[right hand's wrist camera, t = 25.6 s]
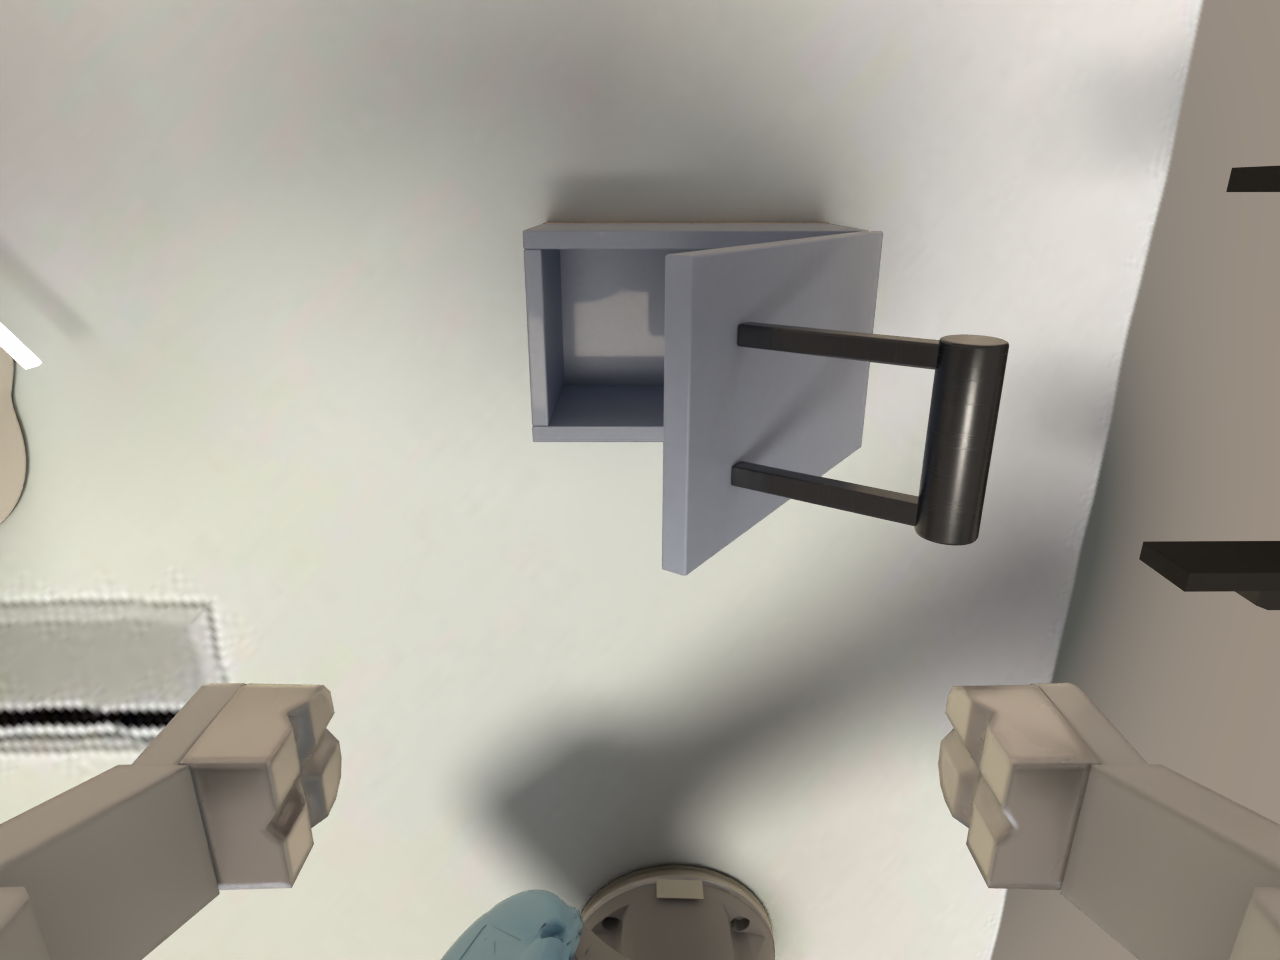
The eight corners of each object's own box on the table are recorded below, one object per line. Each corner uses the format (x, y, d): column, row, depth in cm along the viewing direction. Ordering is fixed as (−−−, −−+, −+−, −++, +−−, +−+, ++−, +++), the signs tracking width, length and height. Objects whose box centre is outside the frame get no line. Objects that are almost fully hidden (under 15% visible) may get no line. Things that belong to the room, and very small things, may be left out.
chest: (552, 395, 46) (532, 442, 38) (545, 222, 43) (522, 230, 34) (810, 395, 46) (849, 442, 38) (824, 222, 43) (870, 230, 34)
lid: (661, 569, 25) (938, 653, 21) (664, 254, 22) (995, 271, 17) (843, 443, 38) (1040, 478, 33) (862, 230, 34) (1086, 237, 30)
